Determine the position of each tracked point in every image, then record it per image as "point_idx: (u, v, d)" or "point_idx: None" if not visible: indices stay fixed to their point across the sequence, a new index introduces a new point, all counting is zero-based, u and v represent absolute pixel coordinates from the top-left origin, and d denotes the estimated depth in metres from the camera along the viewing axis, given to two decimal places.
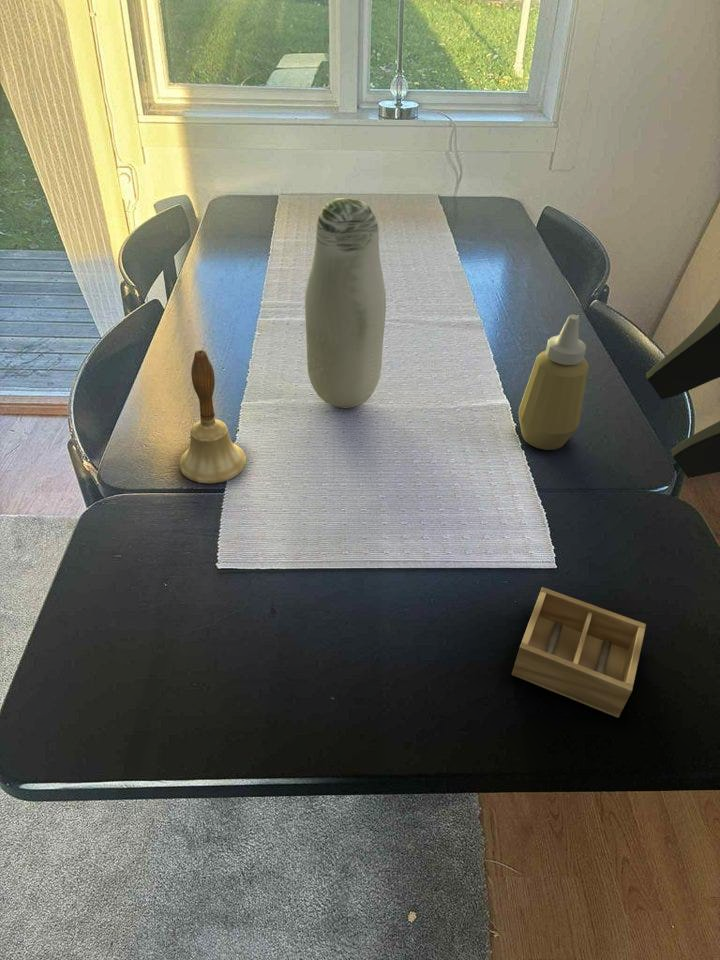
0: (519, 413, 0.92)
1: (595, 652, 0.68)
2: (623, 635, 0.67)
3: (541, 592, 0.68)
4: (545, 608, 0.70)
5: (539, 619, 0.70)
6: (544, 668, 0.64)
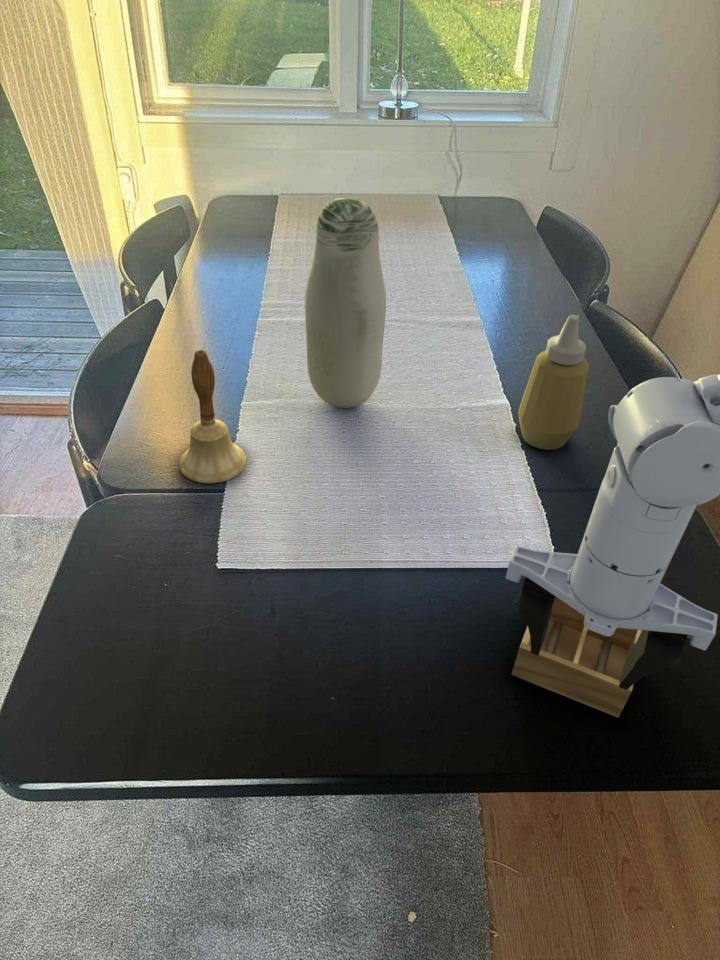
0: (519, 413, 0.92)
1: (595, 652, 0.68)
2: (623, 635, 0.67)
3: None
4: None
5: None
6: (544, 668, 0.64)
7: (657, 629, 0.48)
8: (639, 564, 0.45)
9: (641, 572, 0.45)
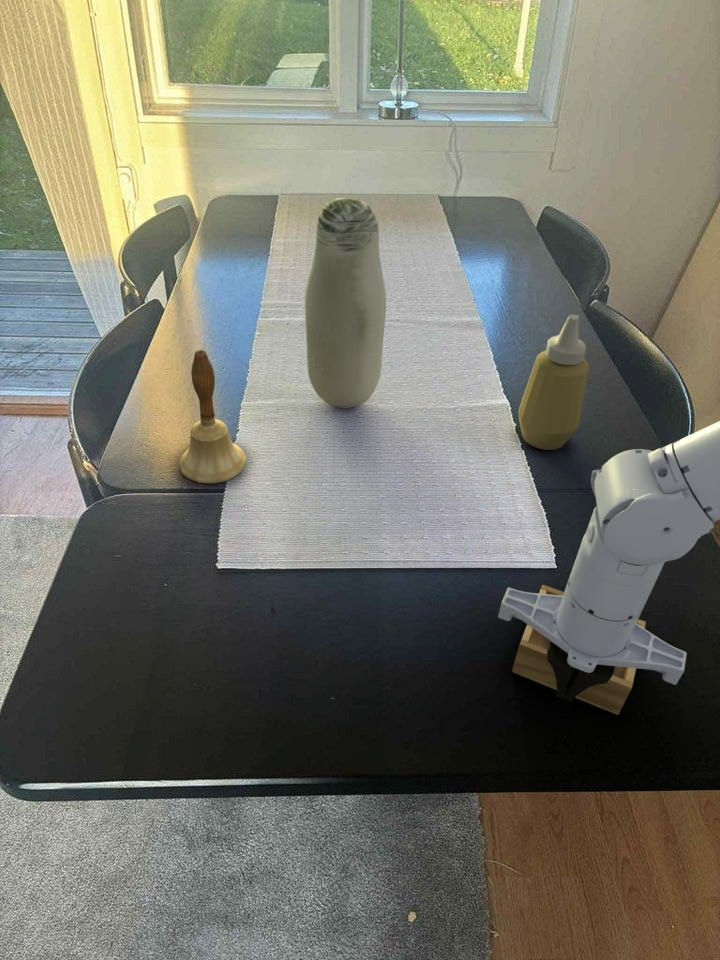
0: (519, 413, 0.92)
1: None
2: None
3: (541, 590, 0.69)
4: None
5: None
6: (544, 665, 0.64)
7: (632, 666, 0.54)
8: (613, 611, 0.51)
9: (615, 617, 0.51)
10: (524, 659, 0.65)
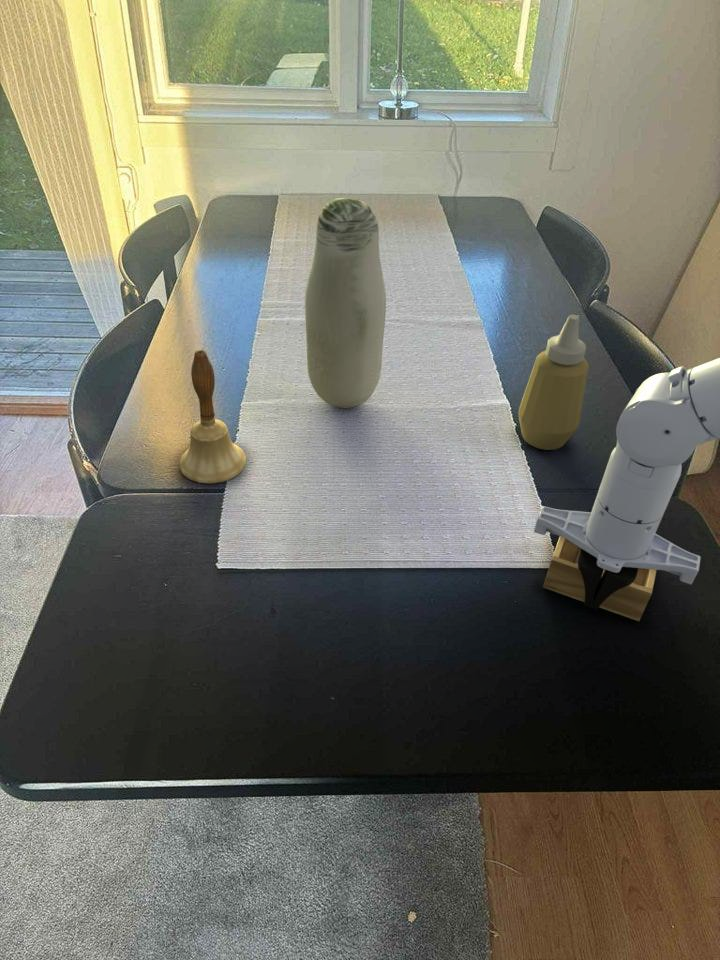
0: (519, 413, 0.92)
1: None
2: None
3: None
4: None
5: (565, 542, 0.79)
6: (573, 578, 0.72)
7: (654, 567, 0.62)
8: (623, 509, 0.59)
9: (624, 517, 0.59)
10: (555, 574, 0.73)
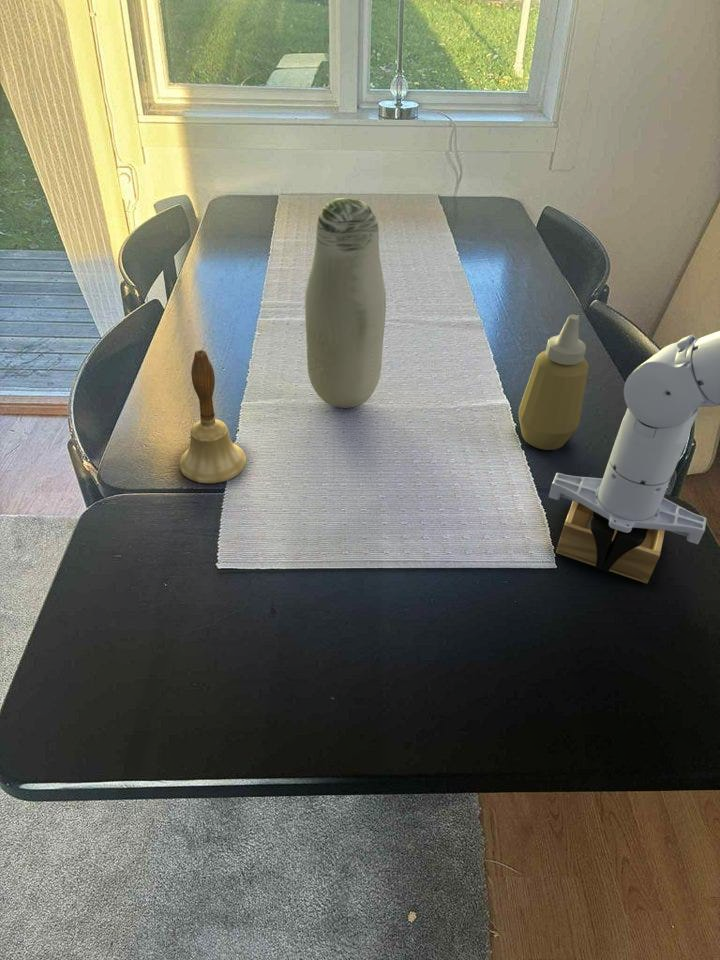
0: (519, 413, 0.92)
1: None
2: None
3: None
4: None
5: (576, 511, 0.83)
6: (584, 543, 0.76)
7: (662, 528, 0.66)
8: (628, 469, 0.63)
9: (629, 477, 0.64)
10: (567, 539, 0.77)
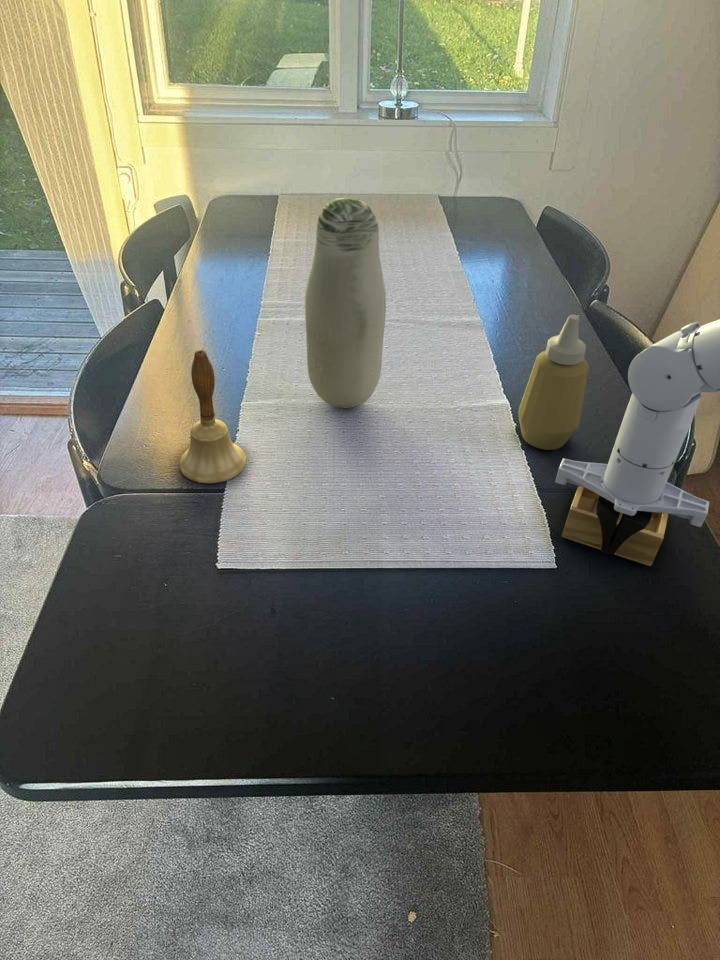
0: (519, 413, 0.92)
1: None
2: None
3: None
4: None
5: (582, 497, 0.85)
6: (590, 527, 0.78)
7: (666, 511, 0.68)
8: (630, 451, 0.65)
9: (631, 459, 0.65)
10: (573, 523, 0.78)
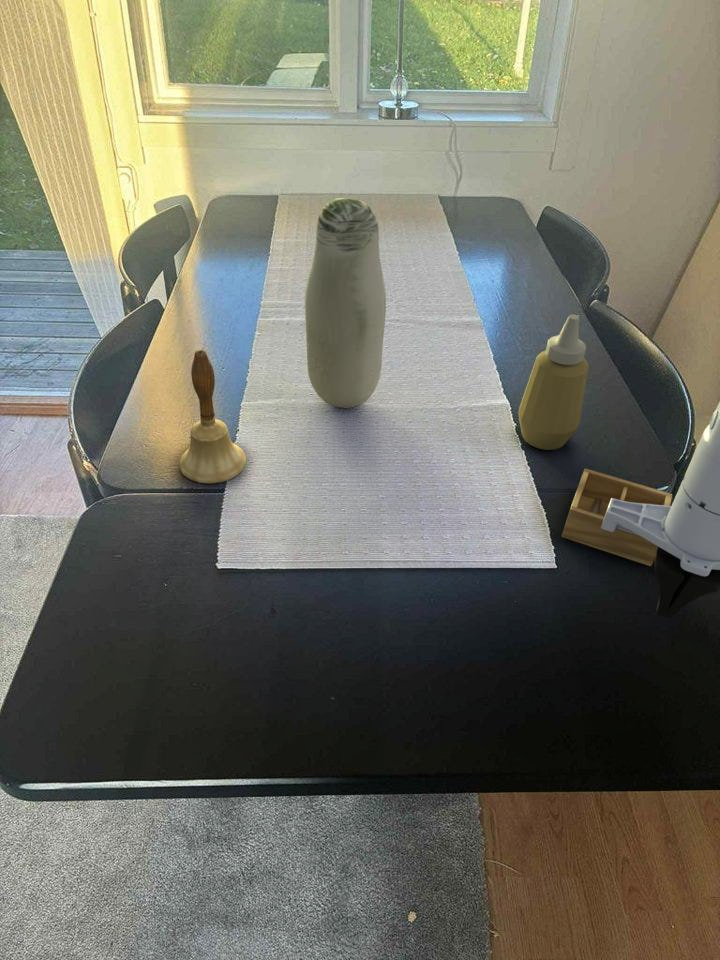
0: (519, 413, 0.92)
1: None
2: None
3: (584, 472, 0.82)
4: (587, 486, 0.84)
5: (582, 497, 0.85)
6: (590, 527, 0.78)
7: None
8: None
9: None
10: (573, 523, 0.78)
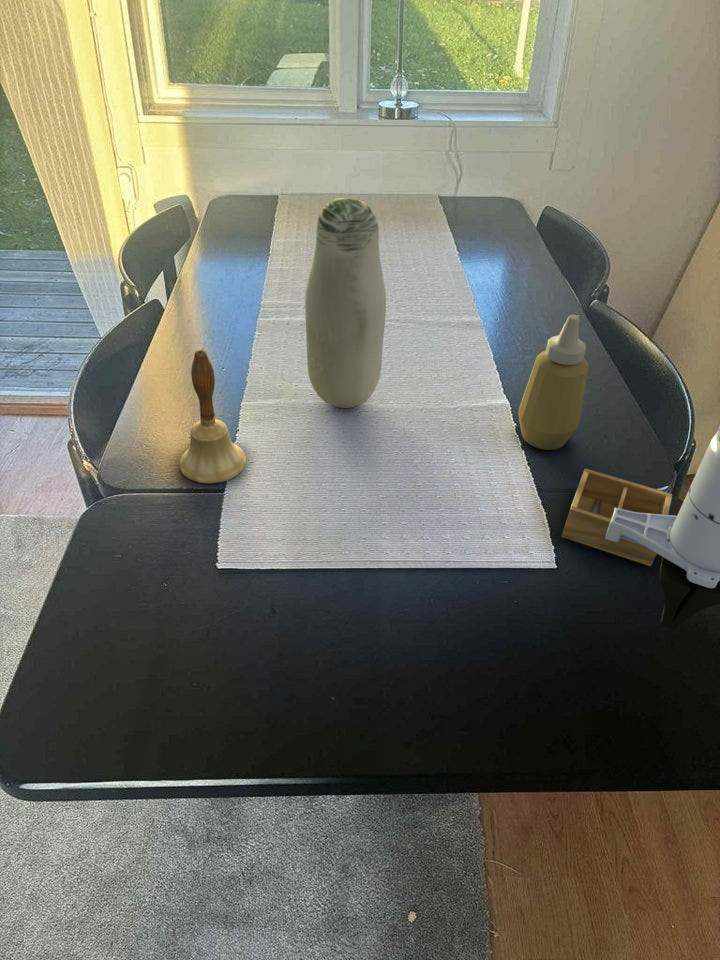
0: (519, 413, 0.92)
1: None
2: (653, 505, 0.81)
3: (584, 472, 0.82)
4: (587, 486, 0.84)
5: (582, 497, 0.85)
6: (590, 527, 0.78)
7: None
8: None
9: None
10: (573, 523, 0.78)
